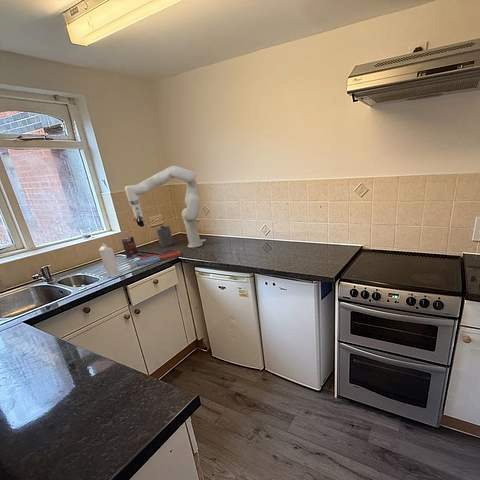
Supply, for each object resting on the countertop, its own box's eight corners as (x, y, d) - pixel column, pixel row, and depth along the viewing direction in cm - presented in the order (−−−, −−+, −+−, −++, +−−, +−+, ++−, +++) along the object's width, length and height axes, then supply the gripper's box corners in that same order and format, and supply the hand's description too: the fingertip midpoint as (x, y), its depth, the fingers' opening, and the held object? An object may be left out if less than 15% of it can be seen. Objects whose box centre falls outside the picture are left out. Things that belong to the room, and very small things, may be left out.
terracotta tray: (177, 252, 237) (177, 250, 237) (181, 255, 228) (181, 252, 228) (158, 257, 230) (157, 254, 230) (161, 260, 221) (160, 258, 221)
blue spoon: (172, 250, 244) (172, 248, 243) (173, 252, 240) (173, 249, 240) (157, 254, 238) (157, 252, 238) (159, 255, 235) (158, 253, 234)
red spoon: (155, 255, 237) (154, 253, 237) (156, 256, 234) (155, 254, 233) (139, 258, 232) (138, 256, 231) (140, 260, 228) (139, 257, 228)
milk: (116, 273, 204) (106, 242, 196) (120, 274, 200) (110, 243, 192) (107, 276, 199) (97, 244, 192) (111, 278, 196) (101, 245, 188)
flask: (159, 247, 258) (154, 227, 252) (171, 243, 270) (166, 223, 264) (162, 247, 257) (157, 227, 250) (174, 243, 269) (169, 223, 262)
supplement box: (132, 258, 235) (126, 239, 229) (126, 259, 236) (120, 239, 230) (138, 255, 243) (133, 236, 237) (133, 255, 244) (128, 236, 238)
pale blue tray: (157, 257, 230) (156, 255, 229) (160, 260, 221) (159, 258, 220) (136, 262, 223) (135, 260, 222) (139, 266, 214) (138, 263, 213)
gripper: (141, 202, 214) (148, 226, 220) (138, 201, 228) (144, 223, 234) (130, 204, 210) (137, 228, 216) (127, 202, 224) (134, 225, 230)
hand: (141, 225), depth 225 cm, fingers open, 9 cm apart
